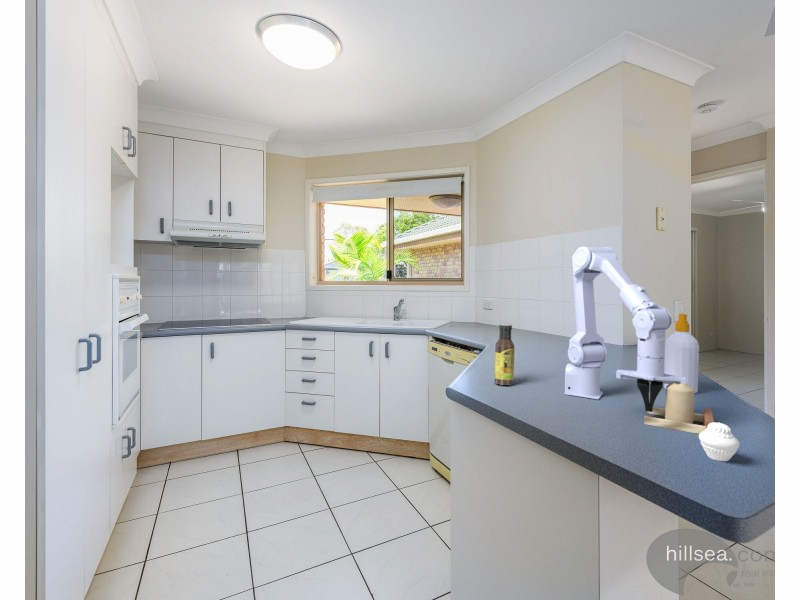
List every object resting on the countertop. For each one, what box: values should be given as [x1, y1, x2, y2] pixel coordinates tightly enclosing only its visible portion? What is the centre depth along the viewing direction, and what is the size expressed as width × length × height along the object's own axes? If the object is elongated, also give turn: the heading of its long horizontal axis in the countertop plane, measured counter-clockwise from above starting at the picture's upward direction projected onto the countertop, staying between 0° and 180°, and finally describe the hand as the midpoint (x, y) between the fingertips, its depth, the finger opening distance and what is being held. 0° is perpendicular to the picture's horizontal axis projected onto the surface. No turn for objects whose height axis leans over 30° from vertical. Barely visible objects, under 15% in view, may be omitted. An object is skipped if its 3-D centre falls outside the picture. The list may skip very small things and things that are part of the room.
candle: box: [664, 382, 695, 424], centre depth 94 cm, size 6×6×10 cm
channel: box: [643, 406, 715, 435], centre depth 94 cm, size 13×11×3 cm
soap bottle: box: [663, 312, 700, 394], centre depth 122 cm, size 9×9×24 cm
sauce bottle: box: [493, 323, 515, 386], centre depth 130 cm, size 6×6×20 cm
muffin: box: [698, 421, 740, 462], centre depth 76 cm, size 6×6×7 cm
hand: (648, 410), depth 98 cm, fingers closed
